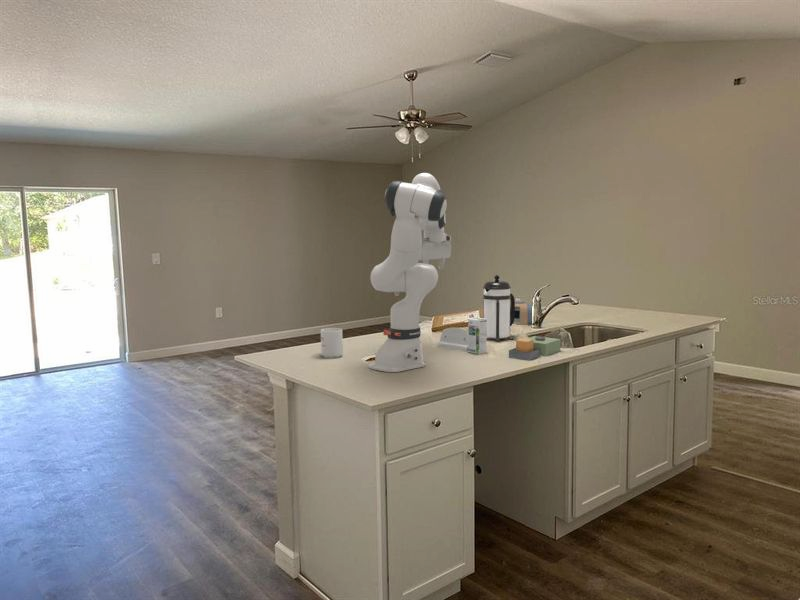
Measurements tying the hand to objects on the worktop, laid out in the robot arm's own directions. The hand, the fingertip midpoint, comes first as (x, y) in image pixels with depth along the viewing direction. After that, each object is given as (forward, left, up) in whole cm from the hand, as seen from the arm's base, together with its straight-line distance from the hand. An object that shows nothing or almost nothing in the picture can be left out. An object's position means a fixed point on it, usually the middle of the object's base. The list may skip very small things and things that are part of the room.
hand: (434, 269), depth 262 cm
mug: (-40, +24, -34) cm, 58 cm away
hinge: (+5, -8, -34) cm, 36 cm away
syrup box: (+2, -21, -34) cm, 40 cm away
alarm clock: (+80, +3, -34) cm, 87 cm away
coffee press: (+33, -12, -34) cm, 49 cm away
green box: (+19, -41, -34) cm, 57 cm away
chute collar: (+6, -41, -34) cm, 54 cm away
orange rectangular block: (+6, -41, -34) cm, 54 cm away
